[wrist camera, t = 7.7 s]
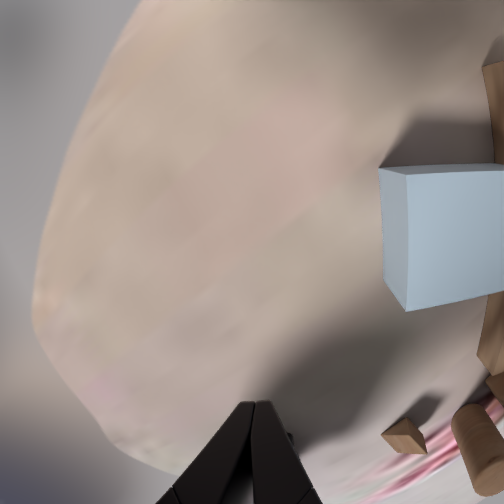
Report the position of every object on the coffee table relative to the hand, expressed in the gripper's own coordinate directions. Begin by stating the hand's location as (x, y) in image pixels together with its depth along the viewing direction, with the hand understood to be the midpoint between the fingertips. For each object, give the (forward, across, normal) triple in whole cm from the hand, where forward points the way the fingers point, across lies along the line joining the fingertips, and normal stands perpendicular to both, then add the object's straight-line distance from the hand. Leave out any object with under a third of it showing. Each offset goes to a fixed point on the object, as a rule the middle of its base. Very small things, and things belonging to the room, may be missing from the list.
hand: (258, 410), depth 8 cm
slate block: (+12, -12, -1) cm, 17 cm away
